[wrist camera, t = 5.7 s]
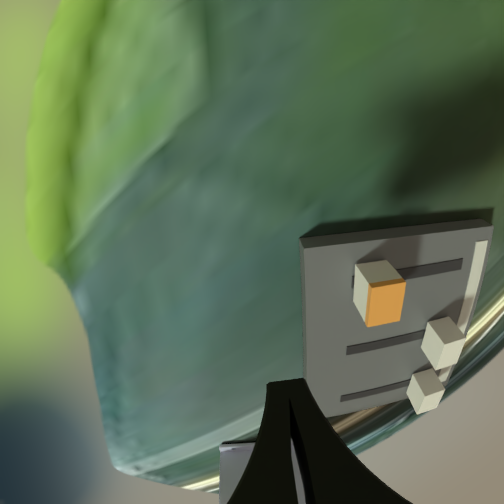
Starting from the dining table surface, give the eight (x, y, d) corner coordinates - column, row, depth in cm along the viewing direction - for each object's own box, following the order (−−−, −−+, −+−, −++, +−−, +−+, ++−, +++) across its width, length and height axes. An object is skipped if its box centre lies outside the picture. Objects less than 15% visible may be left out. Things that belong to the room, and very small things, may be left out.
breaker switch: (353, 301, 18) (367, 327, 15) (355, 264, 17) (371, 288, 14) (382, 296, 18) (399, 320, 15) (386, 259, 17) (406, 281, 14)
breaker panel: (303, 407, 24) (310, 447, 20) (299, 238, 18) (314, 273, 14) (440, 375, 24) (458, 405, 20) (481, 218, 18) (519, 241, 14)
